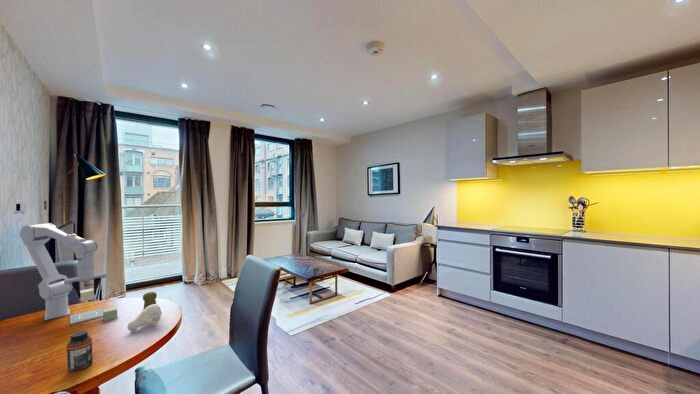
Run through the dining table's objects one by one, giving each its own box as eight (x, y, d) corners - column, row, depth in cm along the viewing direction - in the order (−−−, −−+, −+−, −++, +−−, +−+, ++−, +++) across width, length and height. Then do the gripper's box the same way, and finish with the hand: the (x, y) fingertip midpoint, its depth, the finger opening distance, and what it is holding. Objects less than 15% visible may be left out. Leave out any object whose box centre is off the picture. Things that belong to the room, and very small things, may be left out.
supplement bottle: (70, 365, 93) (69, 331, 92) (94, 359, 96) (93, 326, 96) (64, 375, 88) (63, 339, 87) (90, 368, 91) (89, 334, 90)
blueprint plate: (69, 316, 129) (69, 315, 129) (104, 308, 138) (104, 307, 138) (70, 324, 121) (70, 323, 121) (106, 315, 130) (106, 314, 130)
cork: (150, 320, 125) (149, 295, 125) (138, 318, 126) (138, 294, 126) (161, 314, 131) (160, 290, 131) (150, 313, 132) (150, 290, 132)
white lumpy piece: (162, 304, 121) (129, 317, 111) (164, 322, 122) (132, 337, 112) (155, 301, 124) (122, 313, 114) (157, 319, 125) (125, 333, 115)
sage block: (103, 318, 127) (103, 309, 127) (116, 315, 131) (115, 306, 131) (104, 321, 124) (104, 312, 124) (117, 317, 128) (117, 309, 127)
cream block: (80, 299, 129) (80, 290, 129) (93, 296, 132) (93, 288, 132) (80, 301, 126) (80, 293, 126) (94, 299, 129) (94, 290, 129)
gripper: (63, 272, 121) (64, 303, 121) (107, 265, 131) (108, 294, 132) (63, 269, 126) (64, 298, 126) (106, 262, 136) (107, 290, 136)
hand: (87, 296), depth 129 cm, fingers closed on cream block, 4 cm apart
